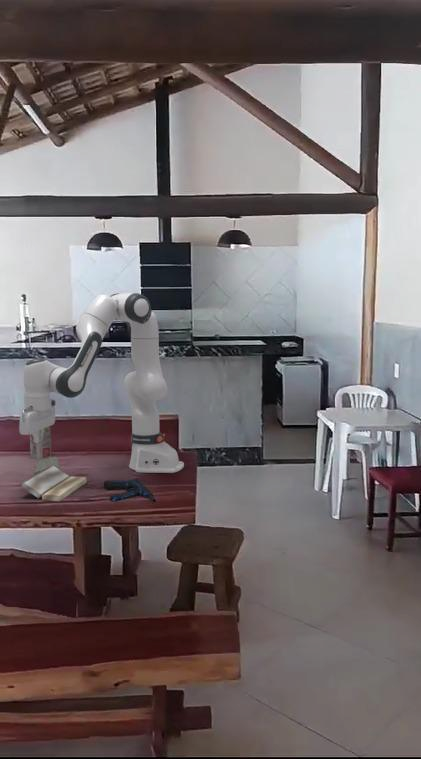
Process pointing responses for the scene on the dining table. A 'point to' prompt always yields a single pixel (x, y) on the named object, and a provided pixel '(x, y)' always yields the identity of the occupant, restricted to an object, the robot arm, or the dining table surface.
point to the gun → (128, 489)
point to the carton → (41, 445)
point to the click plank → (43, 481)
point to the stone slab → (46, 464)
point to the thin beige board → (64, 488)
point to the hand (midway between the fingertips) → (38, 441)
